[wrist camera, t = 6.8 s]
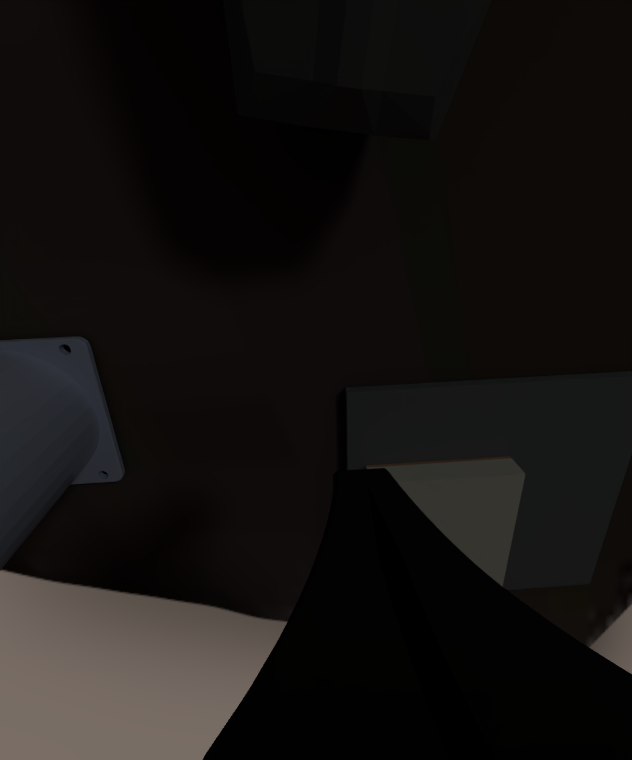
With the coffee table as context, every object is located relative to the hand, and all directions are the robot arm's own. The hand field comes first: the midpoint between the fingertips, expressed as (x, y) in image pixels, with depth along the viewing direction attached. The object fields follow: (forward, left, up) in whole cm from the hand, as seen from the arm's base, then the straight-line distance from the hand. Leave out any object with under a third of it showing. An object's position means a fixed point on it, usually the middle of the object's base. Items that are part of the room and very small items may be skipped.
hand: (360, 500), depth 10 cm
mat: (+9, -9, -10) cm, 16 cm away
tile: (+6, -6, -9) cm, 12 cm away
